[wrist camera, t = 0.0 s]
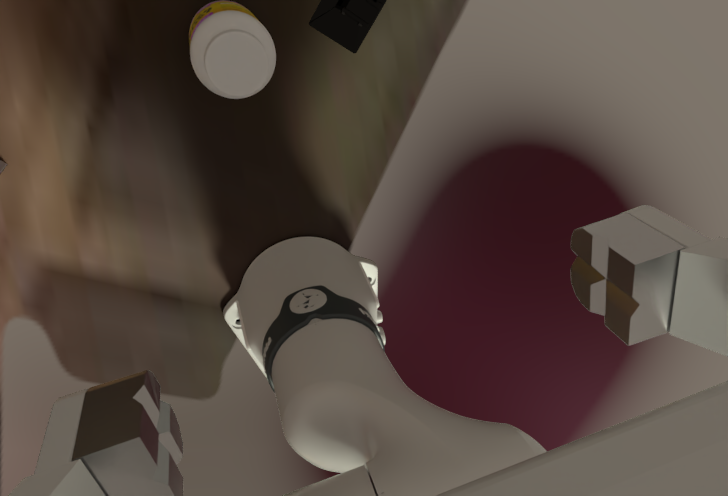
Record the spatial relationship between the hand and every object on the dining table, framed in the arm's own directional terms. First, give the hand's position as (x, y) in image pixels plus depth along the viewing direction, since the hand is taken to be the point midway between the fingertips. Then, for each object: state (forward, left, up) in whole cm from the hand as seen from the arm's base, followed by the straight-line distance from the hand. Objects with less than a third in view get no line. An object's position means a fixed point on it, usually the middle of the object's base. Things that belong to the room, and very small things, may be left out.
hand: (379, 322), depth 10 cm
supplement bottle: (-2, 0, -48) cm, 48 cm away
